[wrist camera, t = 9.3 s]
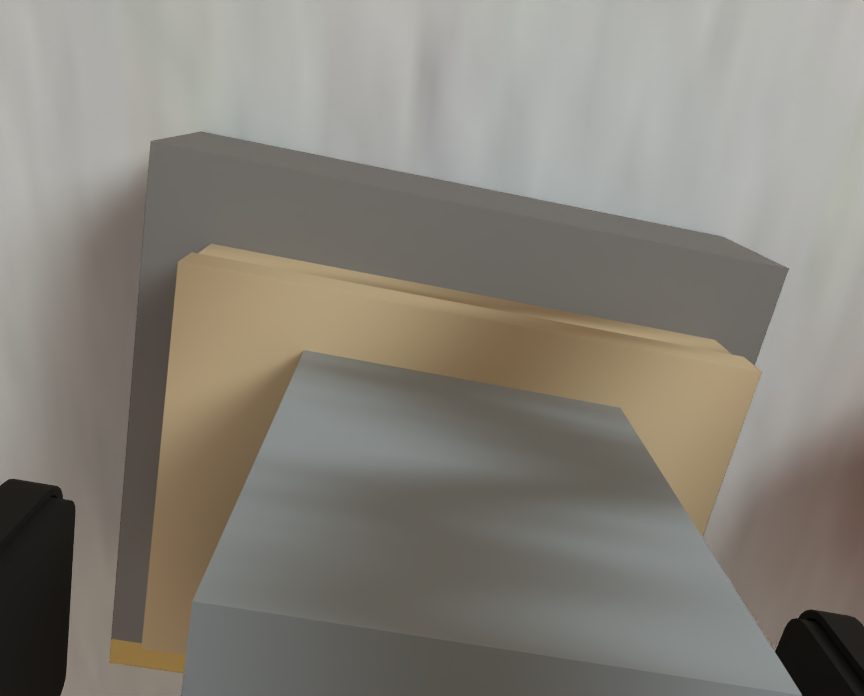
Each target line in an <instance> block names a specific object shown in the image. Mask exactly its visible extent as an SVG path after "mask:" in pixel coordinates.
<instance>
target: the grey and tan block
mask: <svg viewBox="0 0 864 696" xmlns="http://www.w3.org/2000/svg"><path fill="white" fill-rule="evenodd" d="M761 373H762V371H760V370H759V369H758V368H757V367H756V366H754V365H753V364H752V363H751V362H749V361H748V360H747V359H746V358H745V357H742V356H737V355H732V354H731V353H730V352H729V351H728V350H726V349H725V348H724V347H723V346H722V345H721V344H719V343H718V342H717V341H716V340H713V339H708V338H703V337H698V336H693V335H687V334H682V333H677V332H672V331H666V330H661V329H656V328H651V327H645V326H640V325H635V324H630V323H624V322H619V321H614V320H609V319H603V318H598V317H593V316H588V315H582V314H577V313H572V312H567V311H562V310H556V309H551V308H546V307H541V306H535V305H530V304H525V303H520V302H514V301H509V300H504V299H499V298H493V297H488V296H483V295H478V294H472V293H467V292H462V291H457V290H451V289H446V288H441V287H436V286H431V285H425V284H420V283H415V282H410V281H404V280H399V279H394V278H389V277H383V276H378V275H373V274H368V273H362V272H357V271H352V270H347V269H341V268H336V267H331V266H326V265H320V264H315V263H310V262H305V261H299V260H294V259H289V258H284V257H279V256H273V255H268V254H263V253H258V252H252V251H247V250H242V249H237V248H231V247H226V246H221V245H216V244H210V245H209V246H207V247H206V248H205V249H203V250H202V251H200V252H199V253H194V252H191V253H190V254H188V255H187V256H186V257H184V258H183V259H181V260H180V261H178V268H177V278H176V289H175V299H174V310H173V320H172V331H171V341H170V352H169V362H168V373H167V384H166V394H165V405H164V415H163V426H162V436H161V447H160V457H159V468H158V478H157V489H156V499H155V510H154V520H153V531H152V541H151V552H150V563H149V573H148V584H147V594H146V605H145V615H144V626H143V636H142V647H141V648H142V649H148V650H155V651H162V652H168V653H175V654H182V655H186V660H185V668H184V677H183V685H182V694H181V696H802V694H801V692H800V691H799V689H798V688H797V686H796V684H795V683H794V681H793V680H792V678H791V677H790V675H789V673H788V672H787V670H786V669H785V667H784V666H783V664H782V662H781V661H780V659H779V658H778V656H777V654H776V653H775V651H774V650H773V648H772V647H771V645H770V643H769V642H768V640H767V639H766V637H765V635H764V634H763V632H762V631H761V629H760V628H759V626H758V624H757V623H756V621H755V620H754V618H753V617H752V615H751V613H750V612H749V610H748V609H747V607H746V605H745V604H744V602H743V601H742V599H741V598H740V596H739V594H738V593H737V591H736V590H735V588H734V586H733V585H732V583H731V582H730V580H729V579H728V577H727V575H726V574H725V572H724V571H723V569H722V567H721V566H720V564H719V563H718V561H717V560H716V558H715V556H714V555H713V553H712V552H711V550H710V549H709V547H708V545H707V544H706V542H705V541H704V539H703V534H704V531H705V529H706V526H707V523H708V520H709V517H710V515H711V512H712V509H713V506H714V504H715V501H716V498H717V495H718V492H719V490H720V487H721V484H722V481H723V479H724V476H725V473H726V470H727V467H728V465H729V462H730V459H731V456H732V454H733V451H734V448H735V445H736V443H737V440H738V437H739V434H740V431H741V429H742V426H743V423H744V420H745V418H746V415H747V412H748V409H749V406H750V404H751V401H752V398H753V395H754V393H755V390H756V387H757V384H758V381H759V379H760V376H761Z"/></svg>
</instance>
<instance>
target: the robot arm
mask: <svg viewBox="0 0 864 696" xmlns="http://www.w3.org/2000/svg"><path fill="white" fill-rule="evenodd" d="M74 527H75V505H74V502H73V501H71V500H65V499H63V495H62V491H61V489H60V488H59V487H58V486H53V485H47V484H41V483H35V482H29V481H23V480H17V479H9V480H7V481H6V482H4V483H3V484H2V485H1V486H0V696H60V695H61V692H62V689H63V686H64V682H65V677H66V666H67V649H68V631H69V614H70V597H71V579H72V562H73V544H74ZM775 653H776V654H777V656H778V658H779V659H780V661H781V662H782V664H783V666H784V667H785V669H786V670H787V672H788V673H789V675H790V677H791V678H792V680H793V681H794V683H795V684H796V686H797V688H798V689H799V691H800V692H801V694H802V696H864V626H863V625H862V624H861V623H860V622H859V621H858V620H857V619H856V618H854V617H851V616H847V615H841V614H835V613H829V612H823V611H817V610H807V611H805V612H803V613H802V614H801V615H800V616H799V618H798V619H797V618H796V619H792V620H791V621H789V622H788V624H787V626H786V627H785V629H784V632H783V634H782V637H781V639H780V641H779V644H778V646H777V649H776V651H775Z"/></svg>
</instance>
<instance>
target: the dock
mask: <svg viewBox="0 0 864 696" xmlns="http://www.w3.org/2000/svg"><path fill="white" fill-rule="evenodd" d="M210 244H216V245H221V246H226V247H231V248H237V249H242V250H247V251H252V252H258V253H263V254H268V255H273V256H279V257H284V258H289V259H294V260H299V261H305V262H310V263H315V264H320V265H326V266H331V267H336V268H341V269H347V270H352V271H357V272H362V273H368V274H373V275H378V276H383V277H389V278H394V279H399V280H404V281H410V282H415V283H420V284H425V285H431V286H436V287H441V288H446V289H451V290H457V291H462V292H467V293H472V294H478V295H483V296H488V297H493V298H499V299H504V300H509V301H514V302H520V303H525V304H530V305H535V306H541V307H546V308H551V309H556V310H562V311H567V312H572V313H577V314H582V315H588V316H593V317H598V318H603V319H609V320H614V321H619V322H624V323H630V324H635V325H640V326H645V327H651V328H656V329H661V330H666V331H672V332H677V333H682V334H687V335H693V336H698V337H703V338H708V339H713V340H716V341H717V342H718V343H719V344H721V345H722V346H723V347H724V348H725V349H726V350H728V351H729V352H730V353H731V354H732V355H737V356H742V357H745V358H746V359H747V360H748V361H749V362H751V363H752V364H753V365H755V362H756V360H757V357H758V354H759V351H760V348H761V345H762V343H763V340H764V337H765V334H766V331H767V329H768V326H769V323H770V320H771V317H772V315H773V312H774V309H775V306H776V303H777V300H778V298H779V295H780V292H781V289H782V286H783V284H784V281H785V278H786V275H787V272H788V270H789V268H786V267H784V266H782V265H780V264H778V263H776V262H774V261H772V260H770V259H768V258H766V257H764V256H762V255H760V254H757V253H755V252H753V251H751V250H749V249H747V248H745V247H743V246H741V245H739V244H737V243H735V242H733V241H730V240H728V239H726V238H724V237H720V236H715V235H710V234H705V233H700V232H696V231H691V230H686V229H681V228H676V227H671V226H666V225H661V224H656V223H651V222H646V221H641V220H636V219H631V218H626V217H621V216H616V215H611V214H606V213H601V212H596V211H591V210H586V209H582V208H577V207H572V206H567V205H562V204H557V203H552V202H547V201H542V200H537V199H532V198H527V197H522V196H517V195H512V194H507V193H502V192H497V191H492V190H487V189H482V188H477V187H473V186H468V185H463V184H458V183H453V182H448V181H443V180H438V179H433V178H428V177H423V176H418V175H413V174H408V173H403V172H398V171H393V170H388V169H383V168H378V167H373V166H368V165H363V164H359V163H354V162H349V161H344V160H339V159H334V158H329V157H324V156H319V155H314V154H309V153H304V152H299V151H294V150H289V149H284V148H279V147H274V146H269V145H264V144H259V143H254V142H249V141H245V140H240V139H235V138H230V137H225V136H220V135H215V134H210V133H205V132H197V133H191V134H186V135H181V136H175V137H170V138H165V139H159V140H154V141H151V144H150V156H149V169H148V182H147V194H146V207H145V220H144V232H143V245H142V257H141V270H140V283H139V295H138V308H137V321H136V333H135V346H134V359H133V371H132V384H131V396H130V409H129V422H128V434H127V447H126V460H125V472H124V485H123V498H122V510H121V523H120V535H119V548H118V561H117V573H116V586H115V599H114V611H113V624H112V637H111V649H110V663H117V664H124V665H130V666H137V667H144V668H151V669H158V670H164V671H171V672H178V673H184V668H185V660H186V655H182V654H175V653H168V652H162V651H155V650H148V649H142V648H141V647H142V636H143V626H144V615H145V605H146V594H147V584H148V573H149V563H150V552H151V541H152V531H153V520H154V510H155V499H156V489H157V478H158V468H159V457H160V447H161V436H162V426H163V415H164V405H165V394H166V384H167V373H168V362H169V352H170V341H171V331H172V320H173V310H174V299H175V289H176V278H177V268H178V261H180V260H181V259H183V258H184V257H186V256H187V255H188V254H190V253H191V252H194V253H199V252H200V251H202V250H203V249H205V248H206V247H207V246H209V245H210Z"/></svg>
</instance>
